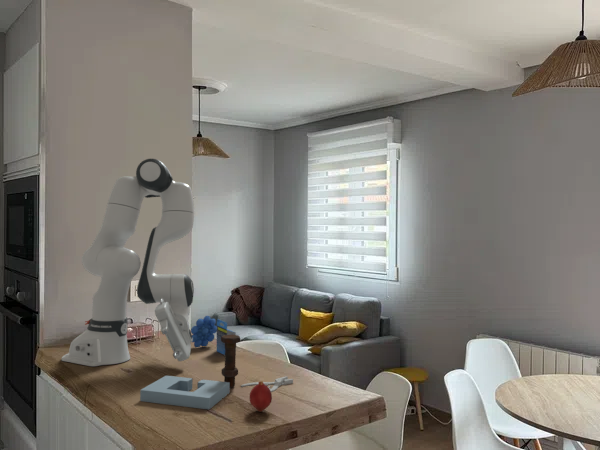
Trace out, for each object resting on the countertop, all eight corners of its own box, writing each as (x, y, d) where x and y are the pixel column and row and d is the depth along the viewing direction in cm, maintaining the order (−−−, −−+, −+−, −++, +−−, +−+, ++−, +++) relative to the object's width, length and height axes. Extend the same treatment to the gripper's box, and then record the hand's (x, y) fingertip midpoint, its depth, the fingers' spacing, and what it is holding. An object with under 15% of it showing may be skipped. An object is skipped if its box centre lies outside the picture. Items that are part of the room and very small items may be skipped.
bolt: (240, 384, 161) (242, 334, 161) (237, 390, 156) (238, 338, 156) (221, 383, 162) (223, 333, 161) (217, 389, 157) (218, 337, 156)
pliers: (240, 382, 160) (280, 373, 170) (240, 387, 160) (280, 378, 170) (259, 390, 152) (300, 381, 162) (259, 396, 152) (300, 386, 162)
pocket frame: (140, 401, 145) (140, 389, 145) (165, 385, 159) (166, 375, 159) (209, 409, 140) (209, 398, 140) (229, 392, 154) (229, 382, 154)
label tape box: (236, 355, 195) (237, 321, 195) (226, 356, 193) (226, 322, 193) (225, 350, 203) (226, 317, 202) (215, 351, 200) (216, 318, 200)
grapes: (210, 343, 213) (211, 312, 213) (220, 346, 208) (220, 315, 208) (184, 347, 205) (185, 315, 205) (193, 350, 200) (194, 318, 200)
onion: (249, 407, 142) (250, 377, 142) (271, 407, 143) (271, 377, 143) (249, 415, 137) (249, 384, 136) (271, 415, 137) (272, 384, 137)
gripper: (171, 293, 177) (166, 313, 164) (194, 343, 184) (192, 366, 171) (153, 299, 177) (147, 320, 164) (177, 349, 184) (173, 373, 171)
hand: (170, 344), depth 168 cm, fingers open, 8 cm apart
